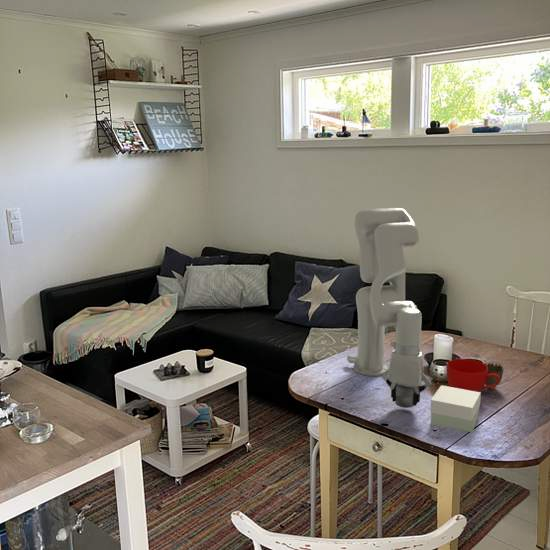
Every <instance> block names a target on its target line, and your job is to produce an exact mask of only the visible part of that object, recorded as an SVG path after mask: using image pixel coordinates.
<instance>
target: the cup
mask: <svg viewBox="0 0 550 550" xmlns="http://www.w3.org/2000/svg"><path fill="white" fill-rule="evenodd" d="M484 364H485V365H487V367H488V373H487V375H488V374H497V375H498V376H499V378H500V382H499V384H498V385H500V384H501V381H502V379H503V375H504V369H505V368H503V366H502V364H497V363H495V364H494V363H493V362H488V363H487V362H485V363H484ZM496 383H497V378H496V377H495V376H490V377H488V378H487V380H486V383H485V385H484V386H492V385H494V384H496ZM496 389H497V386H496V387H493V388H489V389H487V391H494V390H496Z"/></svg>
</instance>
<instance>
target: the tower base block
mask: <svg viewBox="0 0 550 550" xmlns="http://www.w3.org/2000/svg"><path fill="white" fill-rule="evenodd" d="M430 413H431V414H430V425H433V426H438V427H443V428H449V429H453V430H460V431H464V432H470V433H473V431H474V429H475V426H476V423H477V421H478V417H479V416H480V414H479V413H480V407H479V408H478V410H477V412H476V414H475V416H474V417H473V419H472V421H470V420H466V419H461V418H456V417H451V416H446V415H441V414H436V413H432V412H430Z"/></svg>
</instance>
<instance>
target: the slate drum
mask: <svg viewBox="0 0 550 550" xmlns="http://www.w3.org/2000/svg"><path fill="white" fill-rule="evenodd" d="M414 393H415V389H414V386H408V385H402V384H396V398H395V401H394V402H395V405H396V406H397V407H399V408H406V409H409V408H413V407H414V405H413V402H414Z"/></svg>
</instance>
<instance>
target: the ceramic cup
mask: <svg viewBox="0 0 550 550" xmlns="http://www.w3.org/2000/svg"><path fill="white" fill-rule="evenodd" d="M487 365H488V364H487ZM487 365H485V363H483V362H481V361H479V360H475V359H470V358H469V359H468V358H456V359H451V360H449V361H447V363H446V377H447V382H448V385H449V387H453V388H459V389H464V390H470V391H475V392H481V393H482V390H488V389H489V388H493V387H496V388H497V386H499V385H500V384H499V382H500V378H499V376H498V375H497V374H488V375H487V373H488V367H487ZM490 376H495V377H496V378H497V383H496V384H494V385H492V386H485V383H486V380H487V378H488V377H490ZM500 383H501V382H500Z"/></svg>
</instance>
